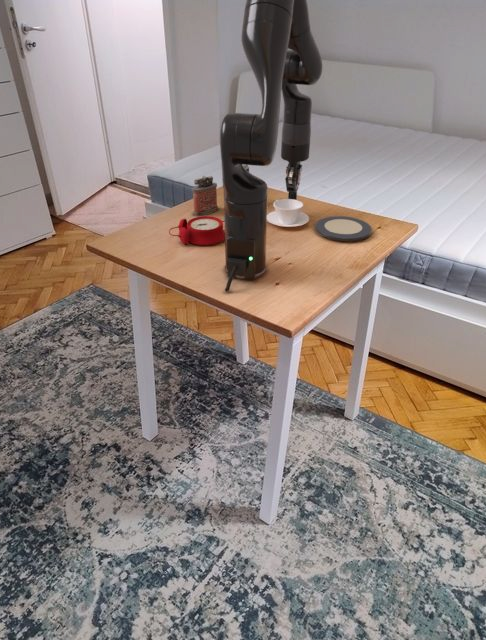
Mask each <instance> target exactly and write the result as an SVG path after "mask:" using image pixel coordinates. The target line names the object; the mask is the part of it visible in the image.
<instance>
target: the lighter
mask: <svg viewBox="0 0 486 640" xmlns="http://www.w3.org/2000/svg"><path fill="white" fill-rule="evenodd" d="M213 181H214V176H212V175H209V176H206V175H203V176H202V177H199V178H195V179H194V185H195V186H193V187H192V188H191V191H192V195H193V215H194V216H196V217H201V216H205V215H208V214H212V213H214V212H216V211H218V210H219V209H218V208H219V206H218V194H217V187H218V183H217V182H213Z"/></svg>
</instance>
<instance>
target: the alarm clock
mask: <svg viewBox="0 0 486 640" xmlns="http://www.w3.org/2000/svg"><path fill="white" fill-rule="evenodd" d="M224 223H225V220H222V219H221V218H219V217H216V216H211V215H210V216H209V215H206V216H205V215H201V216H196V217H193V218H191V219H189V220H187V219H186V218H181V219H180V221H179V223H178V225H177V226H174V227H171V228H169V230H168V234H169V235H170V236H172V237H178V238H179V240H180V242H181V243H182V244H183V245H188V244H189V243H190V244H193V245H197V246H211V245H216V244H219V243H222V242H223V241H225V229H224ZM173 229H178V234H172V233H171V230H173Z"/></svg>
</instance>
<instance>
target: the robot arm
mask: <svg viewBox="0 0 486 640" xmlns="http://www.w3.org/2000/svg"><path fill="white" fill-rule="evenodd" d="M240 42H241V46H242V51H243V53H244V55H245V58H246V61H247V62H248V65H249V67H250V69H251V71H252V73H253V75H254V78H255V81H256V83H257V86H258V89H259V93H260V97H261V112H260V114H258V113H244V112H243V113H242V112H229V113H227V114H225V115H224V116H223V118H222V121H221V123H220V130H219V150H220V151H219V152H220V161H221V175H222V181H221V182H222V188H223V212H224V213H223V215H224V216H223V217H224V218H223V219H224V220H223V221H225V222H224V230H225V231H224V232H225V239H224V255H225V256H224V257H225V265H224V270H225V273H226V274H227V278H228V279H227V283H226V285H225V288H224V291H225V292H226V293H228V292H229V291H230V289H231V285H232V282H233V279H238V280H239V279H240V280H246V281H255V279H256V278H259V277H262V276H263V275H264V274H265V273H266V271H267V268H266V267H267V265H266V262H267V261H266V257H267V226H268V221H267V215H268V194H269V190H268V188H269V187H268V184H267V182H266V181H265V180H263V179H262V178H260V177H258V176H256V175H254V174H252V173H251V172H250V171H249V172H248V171H247V170H246V169H245V168H244V167H243V165H248V166H258V167H259V166H260V167H267V166H270V165H271V164H272V163H273V161H274V158H275V156H276V151H277V144H278V136H279V124H280V112H281V100H283V119H282V120H283V123H282V128H281V145H280V146H281V147H280V158H281V159H282V160H283V161H285V162H288V163H287V166H286V168H285V174H286V176H285V178H284V180H285V185H286V186H285V187H286V192H287V193H288V195H287V199H294V200H298V190H299V186H300V184H301V183H300V181H301V177H302V171H303V164H301V163H302V162H305V161H307V160H309V158H310V149H311V134H312V132H311V131H312V126H311V125H312V123H311V121H312V110H313V109H312V108H313V100H312V98H311V96H309V95H306V94H305V93H302V92H301V91H300V90H299V88H298V85H300V86H314V85H316V84H317V83H318V82H319V80H320V79H321V77H322V74H323V60H322V55H321V53H320V50H319V48H318V46H317V43H316V40H315V37H314V35H313V32H312V29H311V22H310V12H309V6H308V1H307V0H246V1H245V5H244V11H243V19H242V26H241V36H240ZM281 97H282V98H281ZM242 164H243V165H242Z"/></svg>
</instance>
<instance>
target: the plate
mask: <svg viewBox="0 0 486 640" xmlns="http://www.w3.org/2000/svg"><path fill="white" fill-rule="evenodd" d="M314 229H315V231H316V233H317V234H318V235H320V236H322V237H324V238H326V239H329V240H334V241H341V242H352V241H353V242H355V241H361V240H364V239H367V238H369V236H371V235H372V230H373V228H372V226H371V225H370V224H369V223H368V222H366V221H365V220H362V219H360V218H356V217H352V216H343V215H335V216H333V215H332V216H327V217H322V218H320V219H318V220H317V221H316V222H315V225H314Z"/></svg>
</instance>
